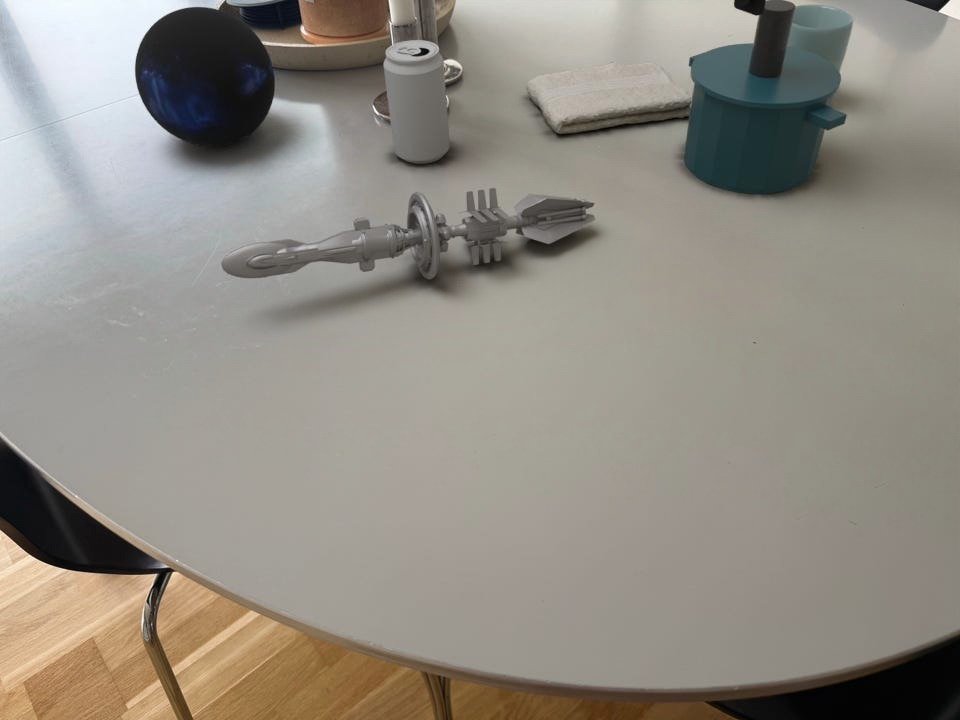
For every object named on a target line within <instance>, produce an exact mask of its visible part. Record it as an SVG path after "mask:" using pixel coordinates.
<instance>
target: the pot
mask: <svg viewBox="0 0 960 720" xmlns="http://www.w3.org/2000/svg"><path fill="white" fill-rule="evenodd" d="M705 52H706V51H704V52H702V53H699V54H696V55H693V56H689V60H688V67H690V68H691V66H692V63H693V62H694V60H695V59H696V58H697V57H698V56H700V55H701V54H703V53H705ZM692 95H693V96H692V99H691V104H690V108H691V110H690V115H689V116H688V125H687V132H686V139H685V144H684V145H685V146H684V155H683V161H684V164H685V166H686V167H687V169H688V170H689V171H690V173H691V174H692V175H694V176H695V177H696V178H698V179H700V180H701V181H703V182H704V183H707V184H709V185H711V186H714V187H716V188H720V189H723V190H726V191H731V192H736V193H743V194H753V195H754V194H755V195H759V194H760V195H761V194H762V195H763V194H776V193H782V192H785V191H790V190H792V189H795V188H797V187H799V186H801V185H803V184H804V183H805V182H807V181H808V179H809V178H810V177H811V175H812V174H813V171H814V169H816V164H817V161H818V157H819V153H820V151H821V145H822V142H823V138H824V134H825V131H830V130H833V129H835V128H838V127H840V126H842V125H845V123H846V119H847V116H848V114H847V113H845V112H843V111H841V110H838V109H835V108H834V107H832V104H833V100H834V97H835V94H834V95H833V96H832V97H830V98H828V99H827V100H825V101H822V102H820V103H817V104H814V105H810V106H805V107H799V108H790V109H764V108H754V107H747V106H741V105H737V104H733V103H729V102H726V101H723V100H720V99H717V98H715V97H713V96H710V95H709V94H707V93H705V92H703V91H702V90H701V89H699V88H698V87H697V86H696V85H695V84H694V83H693V89H692Z"/></svg>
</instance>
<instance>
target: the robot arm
mask: <svg viewBox="0 0 960 720" xmlns="http://www.w3.org/2000/svg"><path fill="white" fill-rule="evenodd" d="M766 1H767V0H733V7H734V8H735V9H737V10H739V11H742V12H744V13H747V14H750V15H753V16H755V17H759V15H761V14H762V13H763V12H764V8H765V2H766Z"/></svg>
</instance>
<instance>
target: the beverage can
mask: <svg viewBox="0 0 960 720" xmlns="http://www.w3.org/2000/svg"><path fill="white" fill-rule="evenodd" d="M439 47H440V46H439V45H437V44H436V43H434V42H432V41H429V40H424V39H412V40H411V39H410V40H404V41H400V42H396V43H394V44H392V45H390V46H388V47H387V48H386V50H385V59H384V61H383V64H382V65H383V74H384V82H385V88H386V89H385V90H386V97H387V104H388V105H387V106H388V113H389V114H388V115H389V121H390V128H391V129H390V130H391V137H392V145H393V151H394V154H395V155H396V156H398V158H401V159H402V160H403V161H404V162H408V163H411V164H417V165H418V164H419V165H423V164H430V163H434V162H436V161H439V160H440V159H442V158H443V157H444V155H446V154H447V152H449V150H450V145H451V142H450V131H449V130H450V129H449V116H448V115H449V114H448V104H447V101H448V100H447V88H446V77H445V76H446V75H445V62H444V58H443V56H442V54H441V53H440V48H439Z"/></svg>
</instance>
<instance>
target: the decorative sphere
mask: <svg viewBox="0 0 960 720" xmlns="http://www.w3.org/2000/svg"><path fill="white" fill-rule="evenodd" d="M134 74H135V75H134V77H135V84H136V88H137V91H138V94H139V97H140V100H141V101H142V104H143V105H144V107H145V110H147V112H148V113H149V115H150V116H151V118H153V120H154V121H155V122H156V123H157V124H158V125H159V126H160V127H161V128H162V129H163V130H165V131H166V132H167V133H168V134H170V135H172V136H174V137H175V138H177V139H179V140H182V141H183V142H186V143H189V144H192V145H195V146H201V147H224V146H228V145H231V144H235V143H238V142H240V141H242V140H244V139H246V138H247V137H248V136H250V135H252V133H254V132H255V131H256V130H257V129H258V128H259V127H260V126H261V125H262V124H263V122H264V121H265V119H266V117H267V116H268V114H269V112H270V110H271V107H272V105H273V101H274V97H275V89H276V77H275V70H274V67H273V63H272V59H271V57H270V55H269V52H268V50H267V48H266V46H265V44H264V43H263V41H262V40H261V39H260V38H259V36H258V35H257V34H256V32H255V31H254V30H253V29H252V28H251V27H249V26H248V25H247V24H246V23H245V22H243V20H240V19H239V18H237V17H236V16H234V15H233V14H230V13H228V12H227V11H223V10H221V9H216V8H213V7H206V6H205V7H204V6H189V7H184V8H179V9H176V10H173V11H171V12H169V13H167V14H165V15H163V16H162V17H160V18H159V19H158V20H157V21H155V22H154V23H153V24H152V25H151V26H150V27H149V28H148V30H147V32H145V34H144V35H143V37H142V39H141V41H140V42H139V46H138V49H137V52H136V55H135V63H134Z"/></svg>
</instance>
